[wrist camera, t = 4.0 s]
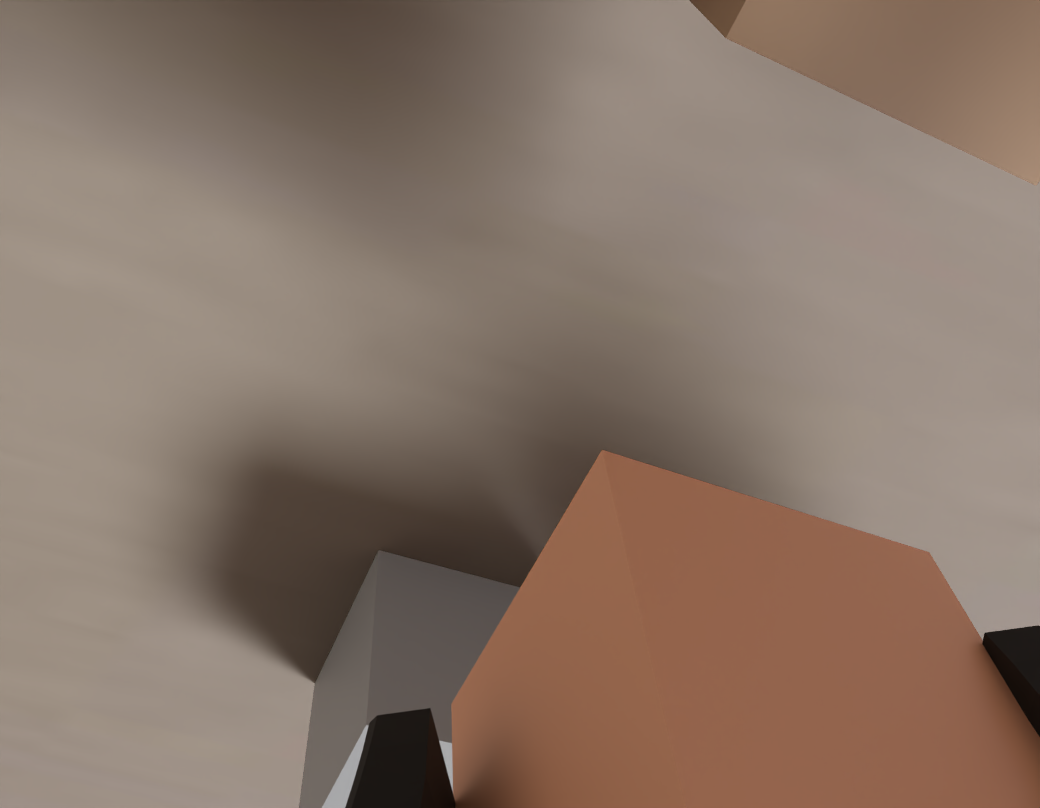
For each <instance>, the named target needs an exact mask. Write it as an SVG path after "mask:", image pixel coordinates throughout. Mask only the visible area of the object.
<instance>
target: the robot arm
mask: <svg viewBox="0 0 1040 808" xmlns="http://www.w3.org/2000/svg"><path fill="white" fill-rule="evenodd" d="M982 644H983V646H984V647H985V649H986V651H987V652H988V654H989V656H990V657H991V659H992V661H993V662H994V664H995V666H996V667H997V669H998V671H999V672H1000V674H1001V676H1002V677H1003V679H1004V681H1005V682H1006V684H1007V686H1008V687H1009V689H1010V691H1011V692H1012V694H1013V696H1014V697H1015V699H1016V701H1017V702H1018V704H1019V706H1020V707H1021V709H1022V711H1023V712H1024V714H1025V716H1026V717H1027V719H1028V720H1029V722H1030V723H1031V725H1032V726H1033V728H1034V729H1035V731H1036V732H1037V734H1038V735H1039V737H1040V626H1032V627H1024V628H1017V629H1009V630H1002V631H995V632H987V633H985V634H984V638H983V643H982ZM345 808H455V799H454V795H453V791H452V787H451V784H450V780H449V776H448V772H447V769H446V765H445V761H444V757H443V753H442V750H441V746H440V742H439V738H438V735H437V731H436V727H435V723H434V719H433V716H432V712H431V708H427V709H420V710H412V711H405V712H397V713H390V714H383V715H377V716H376V717H375V718H374V719H373V720H372V721H371V722H370V723H369V726H368V730H367V734H366V738H365V742H364V746H363V750H362V754H361V757H360V761H359V764H358V768H357V771H356V775H355V778H354V781H353V785H352V788H351V791H350V794H349V797H348V800H347V804H346V807H345Z"/></svg>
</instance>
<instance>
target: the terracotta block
mask: <svg viewBox="0 0 1040 808" xmlns="http://www.w3.org/2000/svg"><path fill="white" fill-rule="evenodd" d="M982 643H983V641H982V639H981V637H980V636H979V634H978V632H977V631H976V629H975V627H974V626H973V624H972V622H971V621H970V619H969V617H968V616H967V614H966V612H965V611H964V609H963V608H962V606H961V604H960V603H959V601H958V599H957V598H956V596H955V594H954V593H953V591H952V589H951V588H950V586H949V584H948V583H947V581H946V579H945V578H944V576H943V574H942V573H941V571H940V569H939V568H938V566H937V565H936V563H935V561H934V560H933V558H932V556H931V555H930V553H929V552H926V551H923V550H920V549H917V548H914V547H910V546H907V545H904V544H901V543H898V542H894V541H891V540H888V539H885V538H882V537H879V536H875V535H872V534H869V533H866V532H863V531H859V530H856V529H853V528H850V527H847V526H843V525H840V524H837V523H834V522H831V521H828V520H824V519H821V518H818V517H815V516H812V515H808V514H805V513H802V512H799V511H796V510H793V509H789V508H786V507H783V506H780V505H777V504H773V503H770V502H767V501H764V500H761V499H757V498H754V497H751V496H748V495H745V494H742V493H738V492H735V491H732V490H729V489H726V488H722V487H719V486H716V485H713V484H710V483H707V482H703V481H700V480H697V479H694V478H691V477H687V476H684V475H681V474H678V473H675V472H671V471H668V470H665V469H662V468H659V467H656V466H652V465H649V464H646V463H643V462H640V461H636V460H633V459H630V458H627V457H624V456H621V455H617V454H614V453H611V452H608V451H605V450H602V451H601V452H600V454H599V456H598V457H597V459H596V461H595V462H594V464H593V466H592V467H591V469H590V471H589V472H588V474H587V476H586V478H585V479H584V481H583V483H582V484H581V486H580V488H579V489H578V491H577V493H576V494H575V496H574V498H573V499H572V501H571V503H570V505H569V506H568V508H567V510H566V511H565V513H564V515H563V516H562V518H561V520H560V521H559V523H558V525H557V526H556V528H555V530H554V532H553V533H552V535H551V537H550V538H549V540H548V542H547V543H546V545H545V547H544V548H543V550H542V552H541V553H540V555H539V557H538V559H537V560H536V562H535V564H534V565H533V567H532V569H531V570H530V572H529V574H528V575H527V577H526V579H525V580H524V582H523V584H522V586H521V587H520V589H519V591H518V592H517V594H516V596H515V597H514V599H513V601H512V602H511V604H510V606H509V607H508V609H507V611H506V613H505V614H504V616H503V618H502V619H501V621H500V623H499V624H498V626H497V628H496V629H495V631H494V633H493V634H492V636H491V638H490V640H489V641H488V643H487V645H486V646H485V648H484V650H483V651H482V653H481V655H480V656H479V658H478V660H477V661H476V663H475V665H474V667H473V668H472V670H471V672H470V673H469V675H468V677H467V678H466V680H465V682H464V683H463V685H462V687H461V688H460V690H459V692H458V694H457V695H456V697H455V699H454V700H453V702H452V704H451V712H452V766H453V795H454V799H455V808H1040V737H1039V735H1038V734H1037V732H1036V731H1035V729H1034V728H1033V726H1032V725H1031V723H1030V722H1029V720H1028V719H1027V717H1026V716H1025V714H1024V712H1023V711H1022V709H1021V707H1020V706H1019V704H1018V702H1017V701H1016V699H1015V697H1014V696H1013V694H1012V692H1011V691H1010V689H1009V687H1008V686H1007V684H1006V682H1005V681H1004V679H1003V677H1002V676H1001V674H1000V672H999V671H998V669H997V667H996V666H995V664H994V662H993V661H992V659H991V657H990V656H989V654H988V652H987V651H986V649H985V647H984V646H983V644H982Z"/></svg>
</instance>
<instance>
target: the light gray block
mask: <svg viewBox="0 0 1040 808" xmlns="http://www.w3.org/2000/svg"><path fill="white" fill-rule="evenodd" d="M519 589H520V587H516V586H513V585H509V584H505V583H501V582H498V581H494V580H490V579H486V578H482V577H479V576H475V575H471V574H467V573H464V572H460V571H456V570H452V569H448V568H445V567H441V566H437V565H433V564H430V563H426V562H422V561H418V560H415V559H411V558H407V557H403V556H399V555H396V554H392V553H388V552H384V551H381V550H378V552H377V554H376V556H375V559H374V561H373V563H372V565H371V567H370V569H369V571H368V573H367V575H366V577H365V579H364V582H363V584H362V586H361V588H360V590H359V592H358V594H357V596H356V598H355V600H354V602H353V605H352V607H351V609H350V611H349V613H348V615H347V617H346V619H345V621H344V623H343V626H342V628H341V630H340V632H339V634H338V636H337V638H336V640H335V642H334V644H333V646H332V649H331V651H330V653H329V655H328V657H327V659H326V661H325V663H324V665H323V667H322V669H321V672H320V674H319V676H318V678H317V680H316V682H315V686H314V694H313V702H312V710H311V717H310V725H309V733H308V741H307V749H306V757H305V764H304V772H303V780H302V788H301V796H300V804H299V808H345V807H346V804H347V800H348V797H349V794H350V791H351V788H352V785H353V781H354V778H355V775H356V771H357V768H358V764H359V761H360V757H361V754H362V750H363V746H364V742H365V738H366V734H367V730H368V726H369V723H370V722H371V721H372V720H373V719H374V718H375V717H376V716H377V715H383V714H390V713H397V712H405V711H412V710H420V709H427V708H431V712H432V716H433V719H434V723H435V727H436V731H437V735H438V738H439V742H440V746H441V750H442V753H443V757H444V761H445V765H446V769H447V772H448V776H449V780H450V784H451V787H452V791H453V766H452V712H451V704H452V702H453V700H454V699H455V697H456V695H457V694H458V692H459V690H460V688H461V687H462V685H463V683H464V682H465V680H466V678H467V677H468V675H469V673H470V672H471V670H472V668H473V667H474V665H475V663H476V661H477V660H478V658H479V656H480V655H481V653H482V651H483V650H484V648H485V646H486V645H487V643H488V641H489V640H490V638H491V636H492V634H493V633H494V631H495V629H496V628H497V626H498V624H499V623H500V621H501V619H502V618H503V616H504V614H505V613H506V611H507V609H508V607H509V606H510V604H511V602H512V601H513V599H514V597H515V596H516V594H517V592H518V591H519Z"/></svg>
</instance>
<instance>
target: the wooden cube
mask: <svg viewBox="0 0 1040 808" xmlns="http://www.w3.org/2000/svg"><path fill="white" fill-rule="evenodd" d="M690 1H691V2H692V4H693V5H694V6H695V7H696V8H697V9H698V10H699V11H700V12H701V13H702V14H703V15H704V16H705V17H706V18H707V19H708V20H709V21H710V22H711V23H712V24H713V25H714V26H715V27H716V28H717V29H718V31H719V32H720V33H721V34H722V35H723V36H724V37H725V38H727V39H729V40H731V41H733V42H735V43H737V44H739V45H741V46H743V47H746V48H748V49H750V50H752V51H754V52H756V53H758V54H760V55H762V56H764V57H767V58H769V59H771V60H773V61H775V62H777V63H779V64H781V65H783V66H785V67H788V68H790V69H792V70H794V71H796V72H798V73H800V74H802V75H804V76H807V77H809V78H811V79H813V80H815V81H817V82H819V83H821V84H823V85H825V86H828V87H830V88H832V89H834V90H836V91H838V92H840V93H842V94H844V95H846V96H849V97H851V98H853V99H855V100H857V101H859V102H861V103H863V104H865V105H867V106H870V107H872V108H874V109H876V110H878V111H880V112H882V113H884V114H886V115H888V116H891V117H893V118H895V119H897V120H899V121H901V122H903V123H905V124H907V125H910V126H912V127H914V128H916V129H918V130H920V131H922V132H924V133H926V134H928V135H931V136H933V137H935V138H937V139H939V140H941V141H943V142H945V143H947V144H949V145H952V146H954V147H956V148H958V149H960V150H962V151H964V152H966V153H968V154H970V155H973V156H975V157H977V158H979V159H981V160H983V161H985V162H987V163H989V164H991V165H994V166H996V167H998V168H1000V169H1002V170H1004V171H1006V172H1008V173H1010V174H1013V175H1015V176H1017V177H1019V178H1021V179H1023V180H1025V181H1027V182H1029V183H1031V184H1034V185H1037V183H1038V182H1039V181H1040V0H690Z"/></svg>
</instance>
